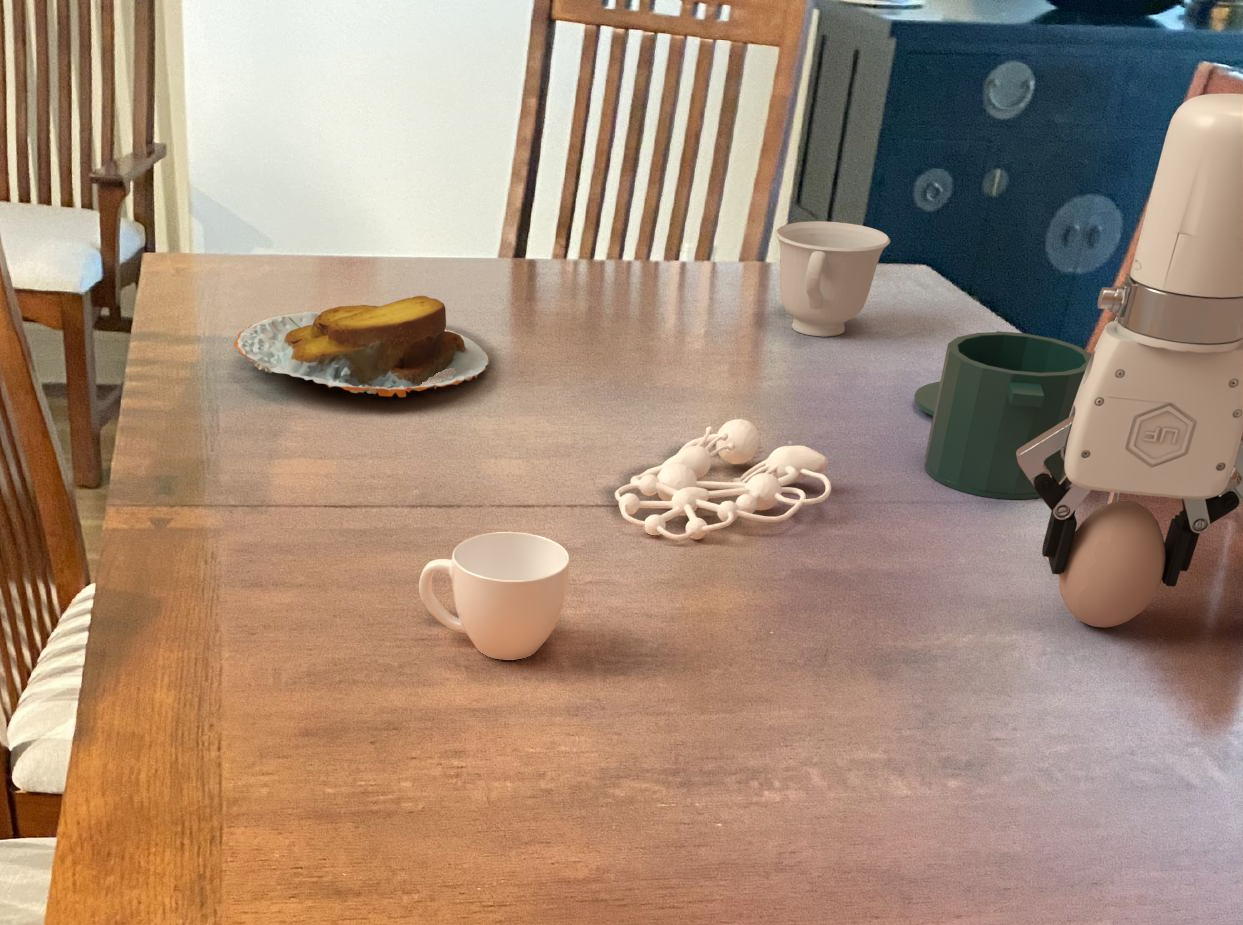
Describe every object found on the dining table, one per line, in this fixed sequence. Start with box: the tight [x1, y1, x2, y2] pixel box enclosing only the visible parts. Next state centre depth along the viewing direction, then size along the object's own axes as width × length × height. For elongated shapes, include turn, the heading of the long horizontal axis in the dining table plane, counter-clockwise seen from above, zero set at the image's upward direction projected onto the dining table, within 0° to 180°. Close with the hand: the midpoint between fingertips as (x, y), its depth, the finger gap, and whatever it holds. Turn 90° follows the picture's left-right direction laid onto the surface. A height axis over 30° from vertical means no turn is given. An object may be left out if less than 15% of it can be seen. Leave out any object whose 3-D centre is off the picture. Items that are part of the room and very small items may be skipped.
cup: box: [418, 531, 571, 659], centre depth 101 cm, size 8×10×7 cm
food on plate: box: [233, 295, 490, 398], centre depth 149 cm, size 25×25×7 cm
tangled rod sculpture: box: [614, 418, 832, 541], centre depth 122 cm, size 19×14×4 cm
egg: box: [1058, 500, 1166, 629], centre depth 104 cm, size 7×7×9 cm
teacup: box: [774, 220, 891, 338], centre depth 161 cm, size 12×15×10 cm
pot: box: [924, 330, 1092, 500], centre depth 127 cm, size 12×17×10 cm
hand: (1110, 570), depth 104 cm, fingers closed on egg, 6 cm apart
